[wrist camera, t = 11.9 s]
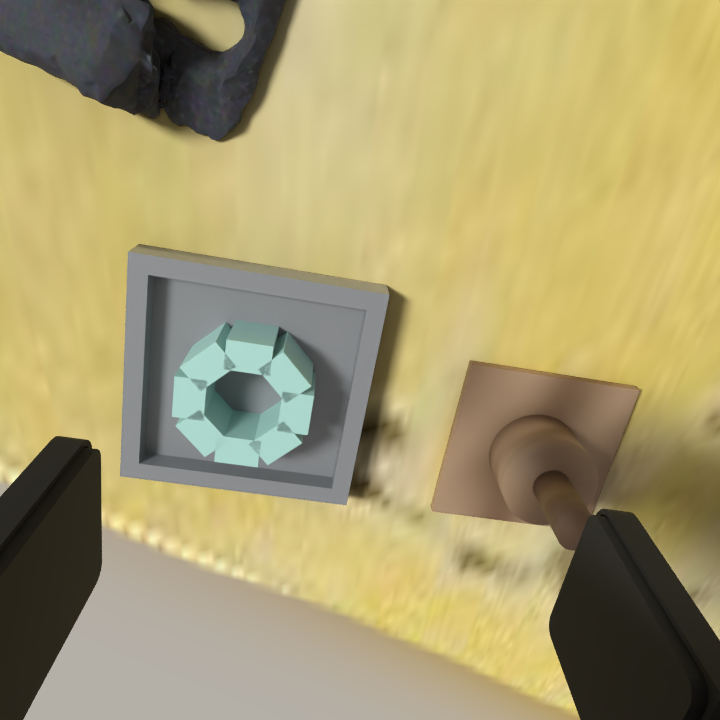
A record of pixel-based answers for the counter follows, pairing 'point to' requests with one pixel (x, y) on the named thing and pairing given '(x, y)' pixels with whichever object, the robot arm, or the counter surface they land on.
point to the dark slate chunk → (141, 57)
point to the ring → (237, 428)
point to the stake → (532, 447)
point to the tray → (239, 389)
